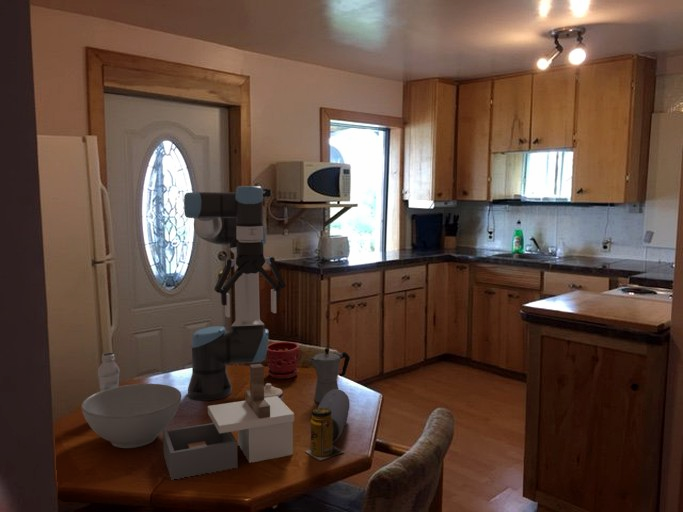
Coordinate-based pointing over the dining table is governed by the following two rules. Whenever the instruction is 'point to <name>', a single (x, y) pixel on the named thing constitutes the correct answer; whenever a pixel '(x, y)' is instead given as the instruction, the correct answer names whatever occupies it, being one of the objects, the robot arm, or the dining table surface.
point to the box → (198, 451)
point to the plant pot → (282, 359)
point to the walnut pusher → (257, 392)
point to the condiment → (322, 435)
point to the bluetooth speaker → (336, 410)
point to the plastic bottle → (108, 372)
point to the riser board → (257, 428)
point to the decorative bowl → (131, 413)
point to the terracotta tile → (196, 444)
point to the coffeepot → (327, 372)
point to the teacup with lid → (272, 391)
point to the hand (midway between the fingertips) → (251, 314)
